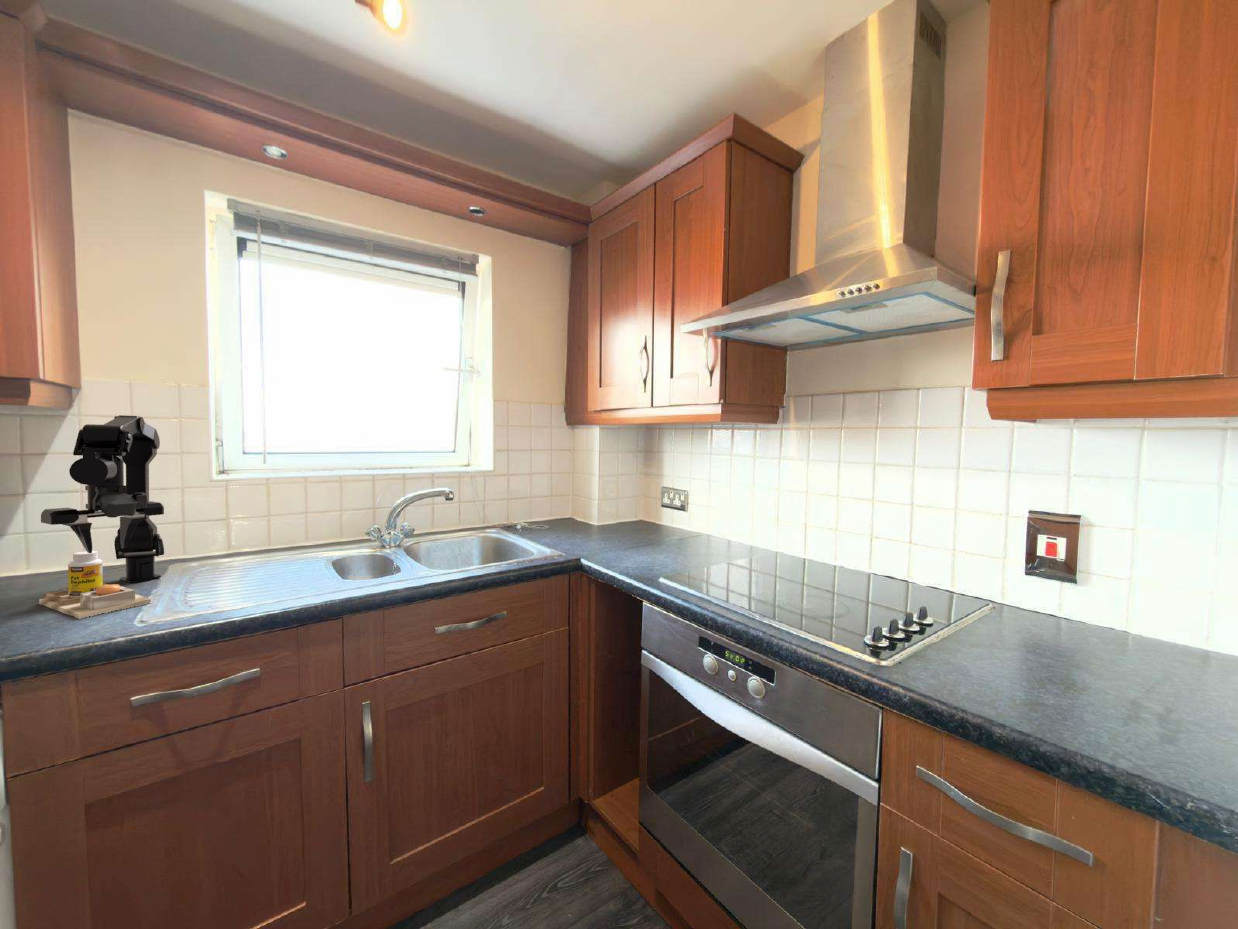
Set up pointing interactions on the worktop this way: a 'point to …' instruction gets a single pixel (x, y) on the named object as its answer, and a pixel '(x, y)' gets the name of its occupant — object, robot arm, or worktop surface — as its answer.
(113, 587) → the button
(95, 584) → the supplement bottle
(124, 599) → the pallet
